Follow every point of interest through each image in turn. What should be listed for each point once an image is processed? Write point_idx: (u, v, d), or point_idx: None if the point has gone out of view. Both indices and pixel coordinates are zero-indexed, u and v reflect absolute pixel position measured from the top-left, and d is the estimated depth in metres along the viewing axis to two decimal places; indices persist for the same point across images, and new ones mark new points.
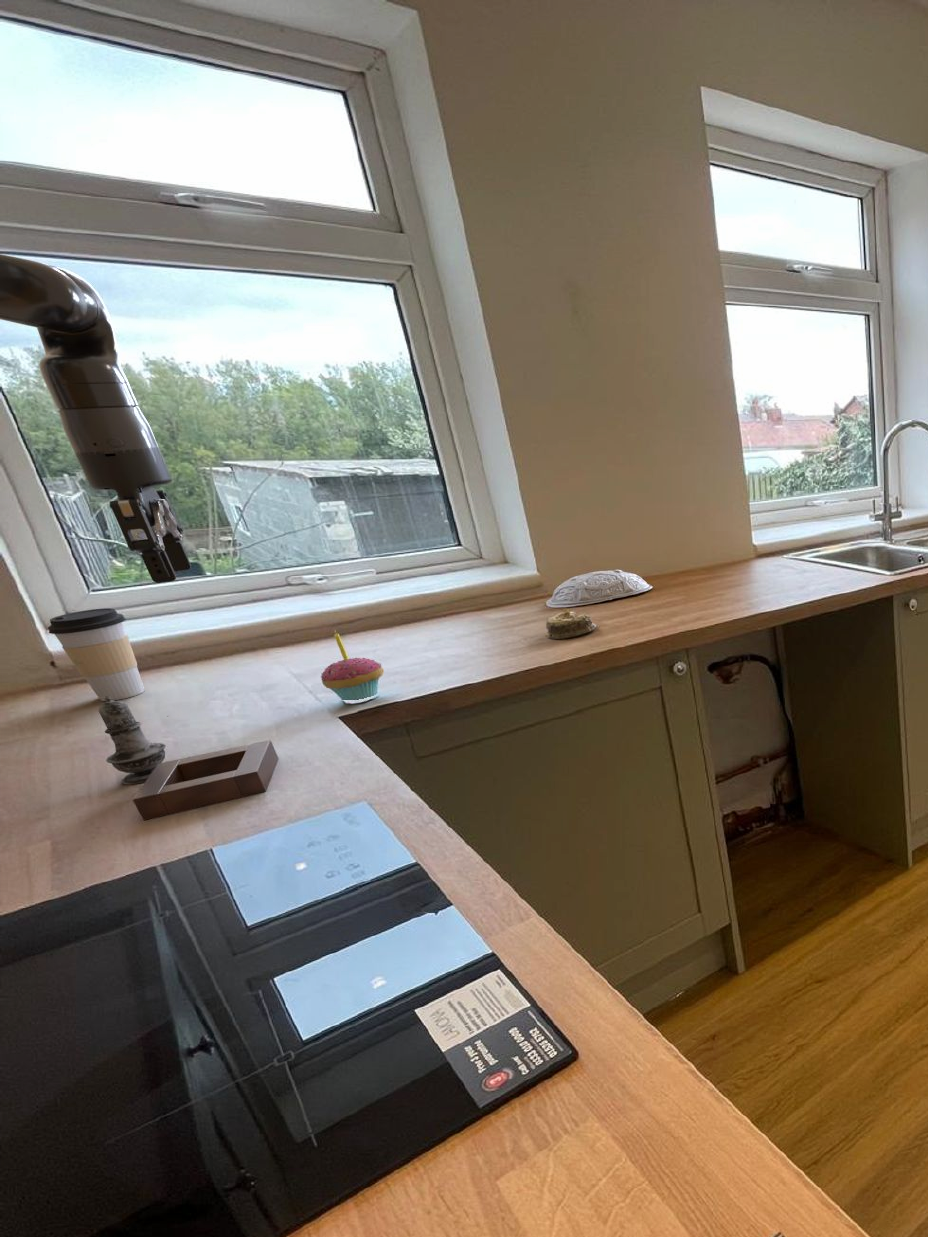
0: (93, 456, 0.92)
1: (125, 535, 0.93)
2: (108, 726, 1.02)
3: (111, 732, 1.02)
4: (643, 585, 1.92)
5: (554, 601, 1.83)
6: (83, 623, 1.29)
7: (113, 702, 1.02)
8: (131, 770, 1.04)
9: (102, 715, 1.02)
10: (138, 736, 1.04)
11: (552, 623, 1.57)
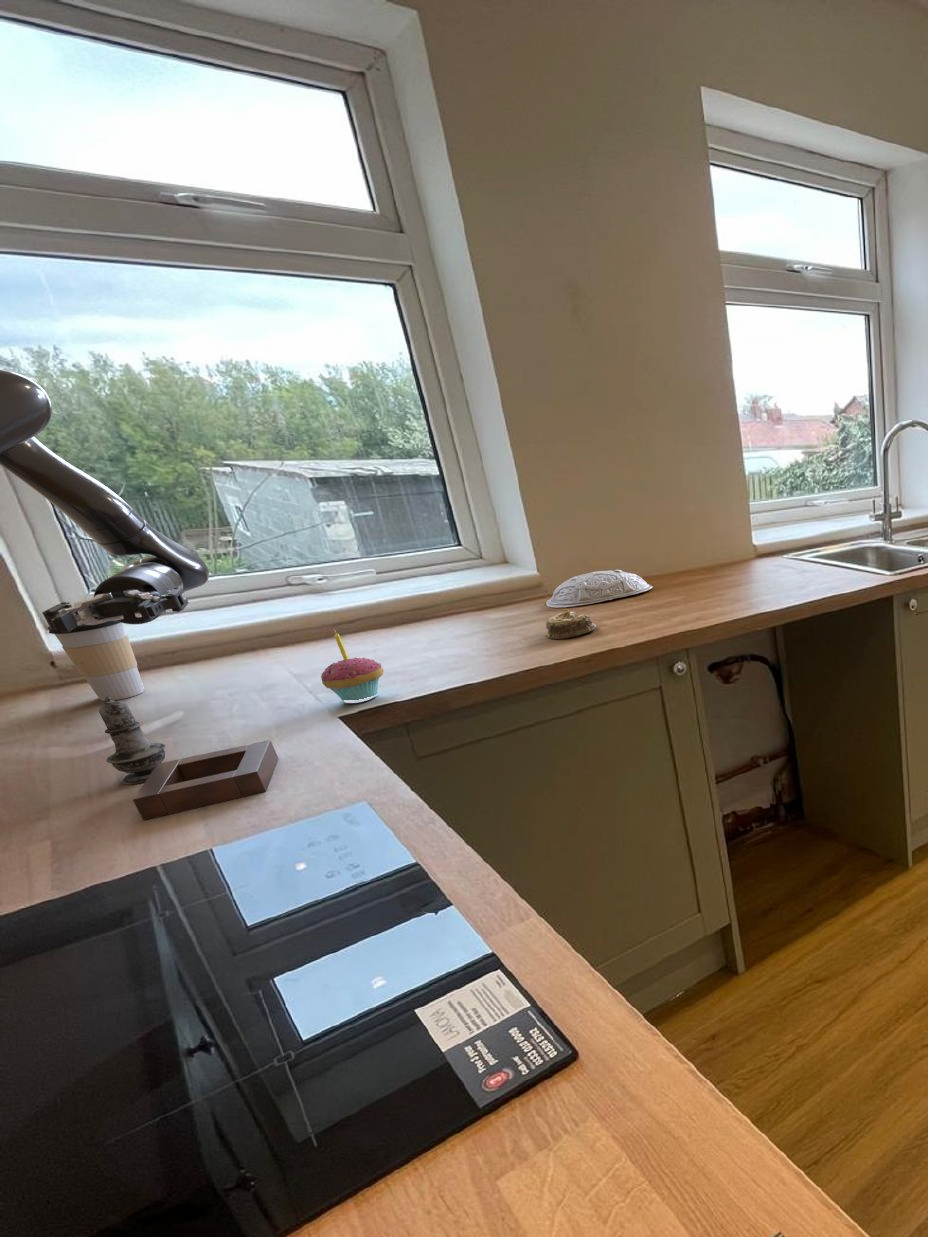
0: (160, 581, 1.20)
1: (178, 593, 1.15)
2: (108, 726, 1.02)
3: (111, 732, 1.02)
4: (643, 585, 1.92)
5: (554, 601, 1.83)
6: None
7: (113, 702, 1.02)
8: (131, 770, 1.04)
9: (102, 715, 1.02)
10: (138, 736, 1.04)
11: (552, 623, 1.57)
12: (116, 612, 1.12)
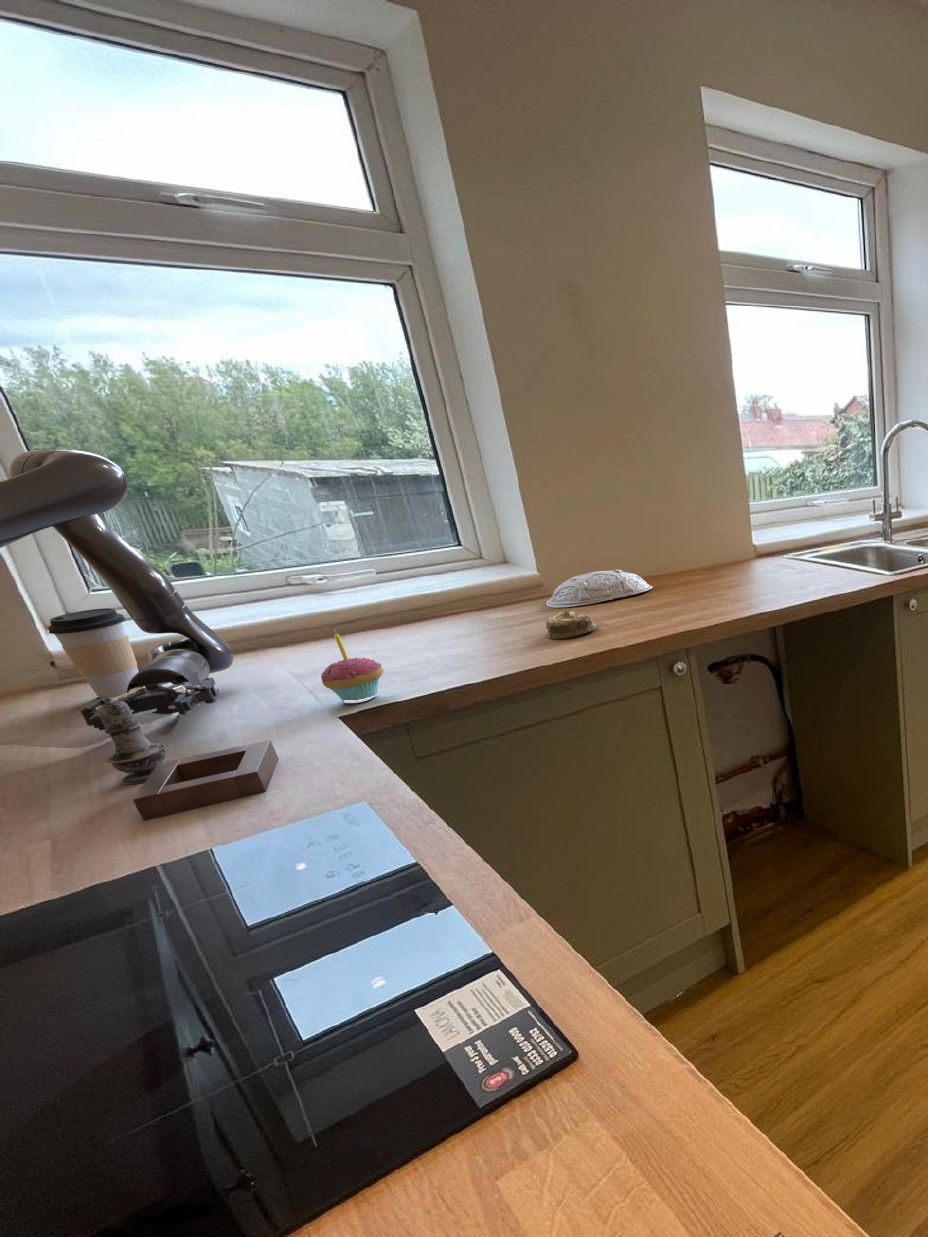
0: (191, 671, 1.23)
1: (210, 685, 1.18)
2: (108, 726, 1.02)
3: (111, 732, 1.02)
4: (643, 585, 1.92)
5: (554, 601, 1.83)
6: (83, 623, 1.29)
7: (113, 702, 1.02)
8: (131, 770, 1.04)
9: (102, 715, 1.02)
10: (138, 736, 1.04)
11: (552, 623, 1.57)
12: (150, 706, 1.15)
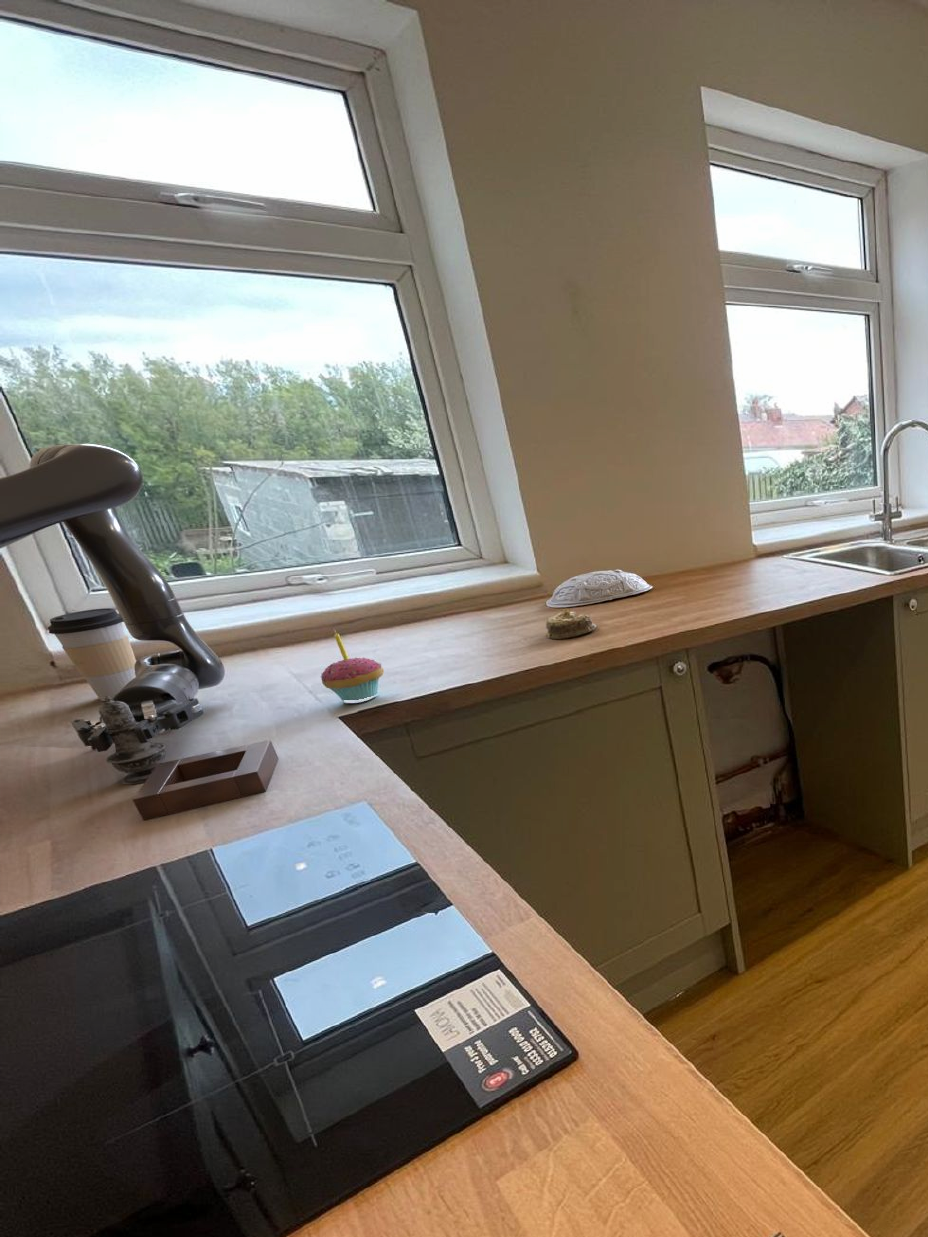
0: (178, 687, 1.16)
1: (180, 709, 1.09)
2: (108, 726, 1.02)
3: (111, 732, 1.02)
4: (643, 585, 1.92)
5: (554, 601, 1.83)
6: (83, 623, 1.29)
7: (113, 702, 1.02)
8: (131, 770, 1.04)
9: (102, 715, 1.02)
10: None
11: (552, 623, 1.57)
12: None
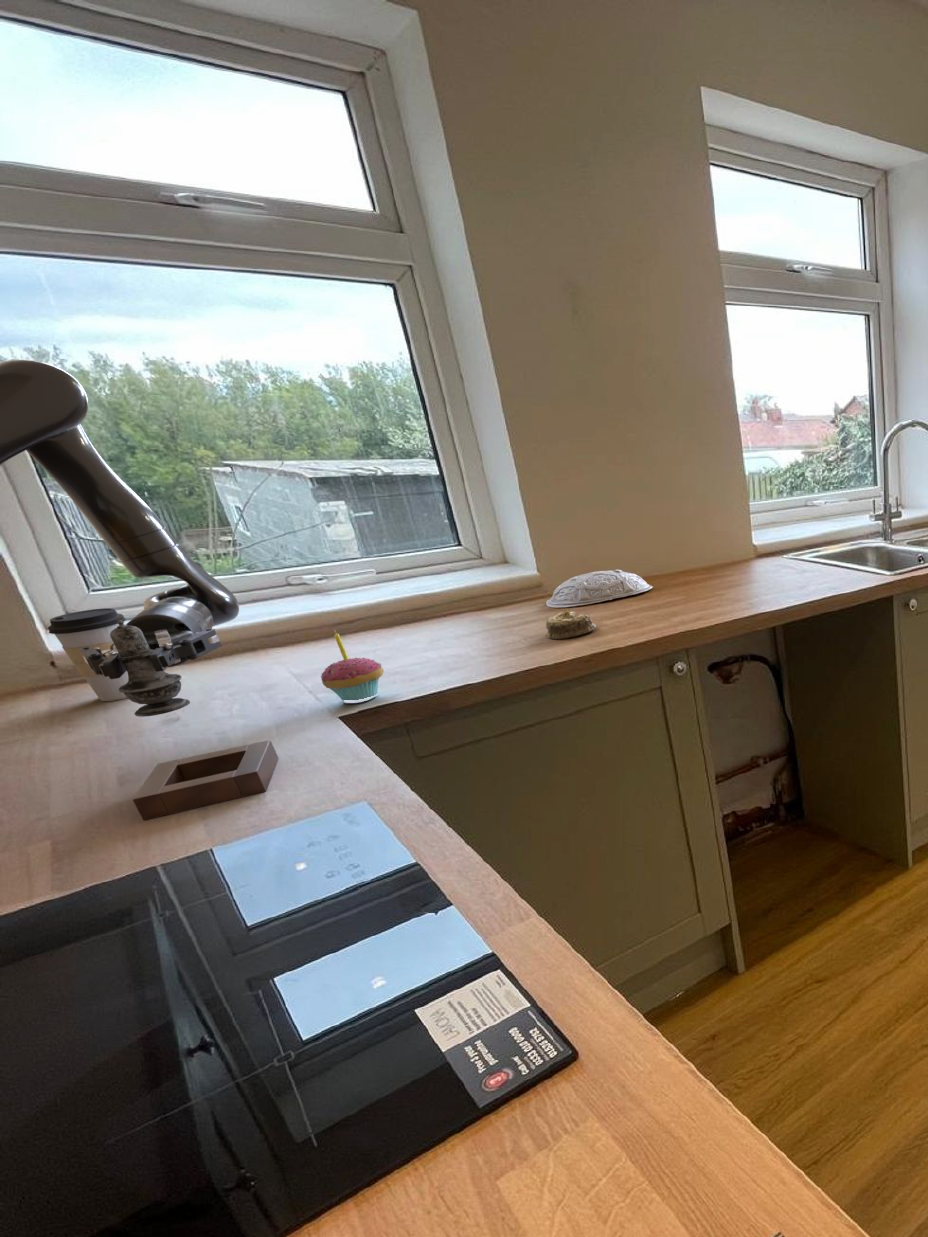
0: (193, 619, 1.08)
1: (197, 638, 1.01)
2: (120, 652, 0.95)
3: (124, 658, 0.95)
4: (643, 585, 1.92)
5: (554, 601, 1.83)
6: (83, 623, 1.29)
7: (126, 626, 0.95)
8: (145, 701, 0.97)
9: (114, 640, 0.94)
10: None
11: (552, 623, 1.57)
12: None
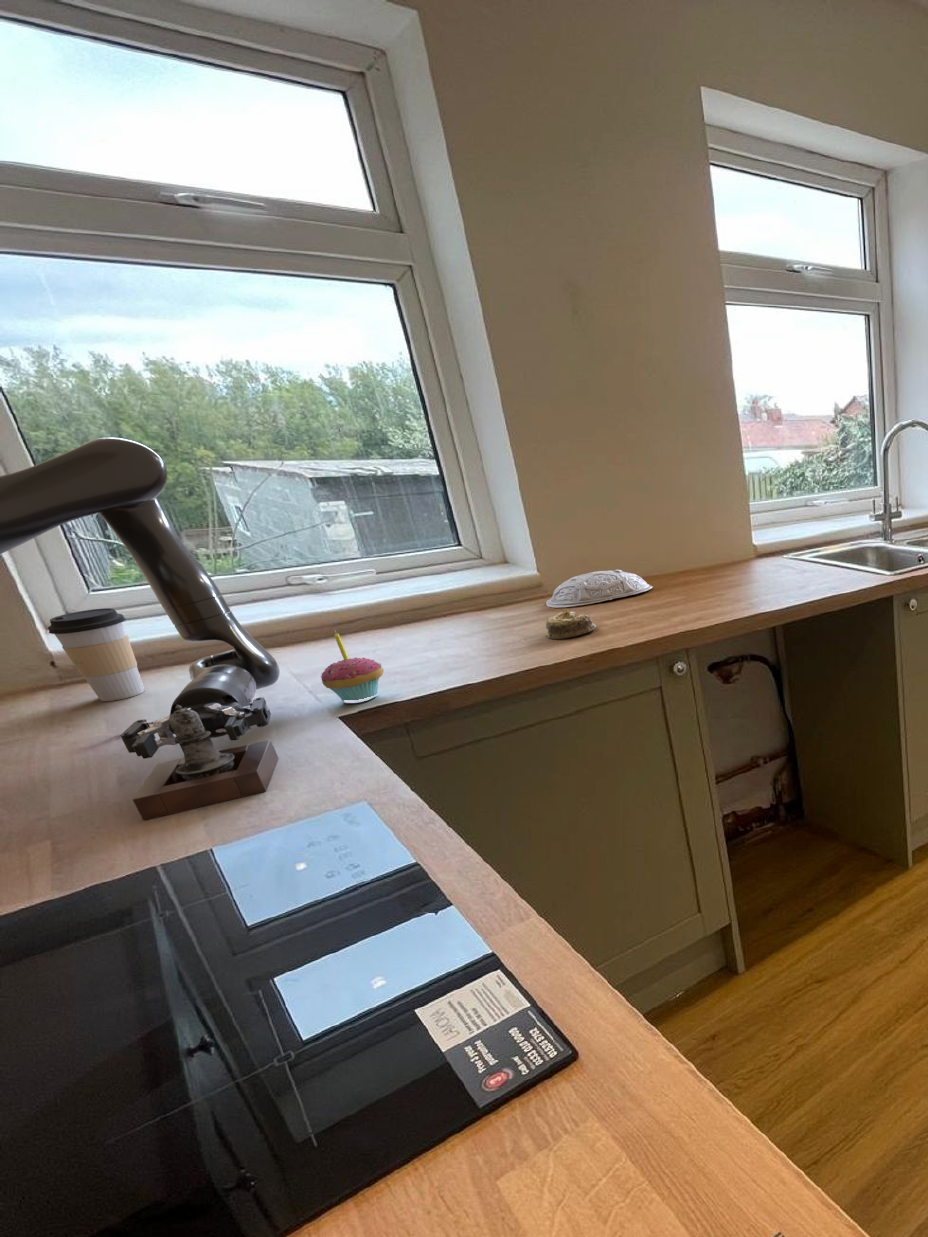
0: (239, 689, 1.11)
1: (262, 706, 1.06)
2: (178, 736, 0.98)
3: (181, 742, 0.98)
4: (643, 585, 1.92)
5: (554, 601, 1.83)
6: (83, 623, 1.29)
7: (183, 710, 0.98)
8: None
9: (172, 724, 0.97)
10: (208, 746, 1.00)
11: (552, 623, 1.57)
12: None
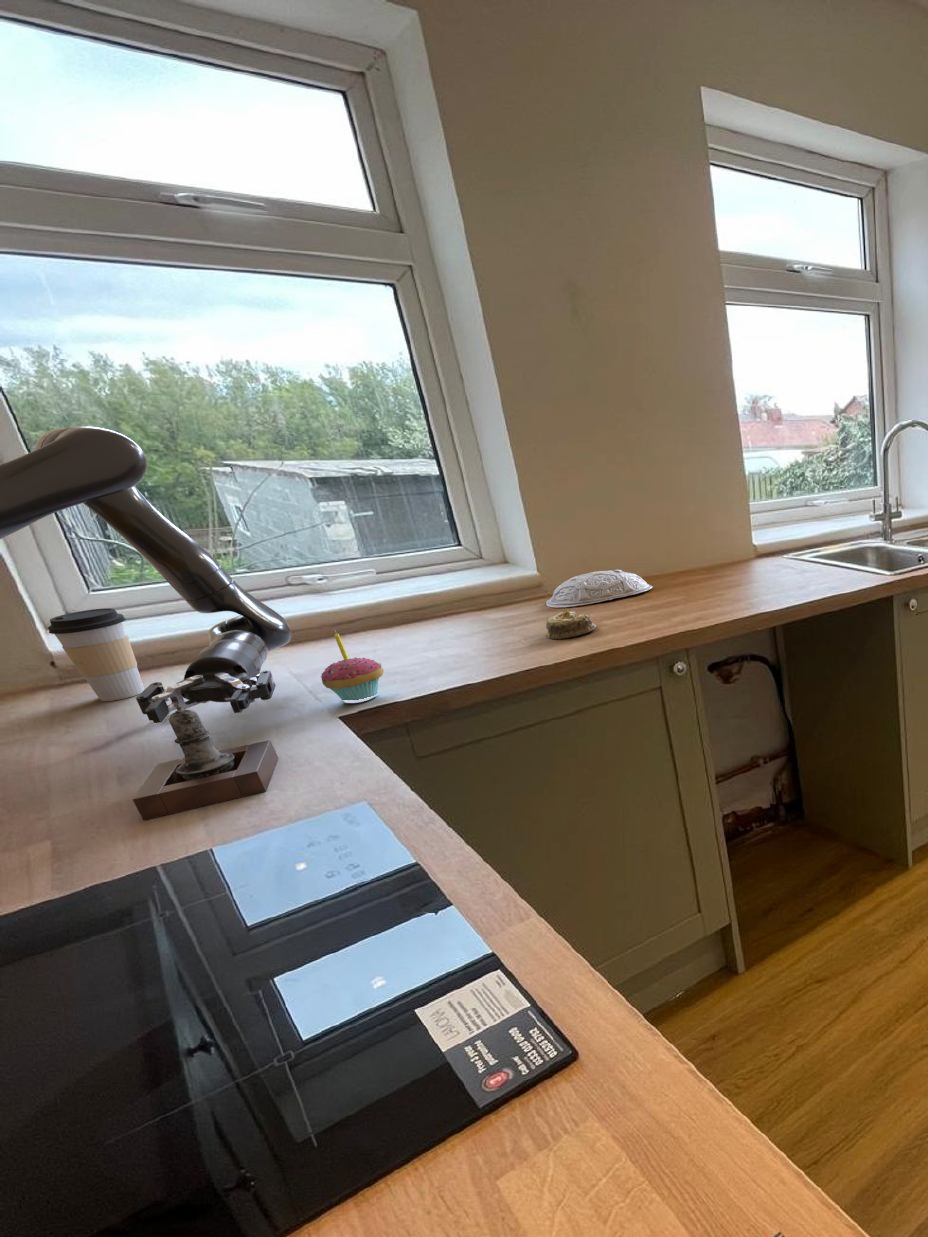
0: (249, 659, 1.20)
1: (267, 680, 1.15)
2: (178, 736, 0.98)
3: (181, 742, 0.98)
4: (643, 585, 1.92)
5: (554, 601, 1.83)
6: (83, 623, 1.29)
7: (184, 710, 0.98)
8: None
9: (172, 724, 0.97)
10: (208, 746, 1.00)
11: (552, 623, 1.57)
12: (206, 698, 1.12)
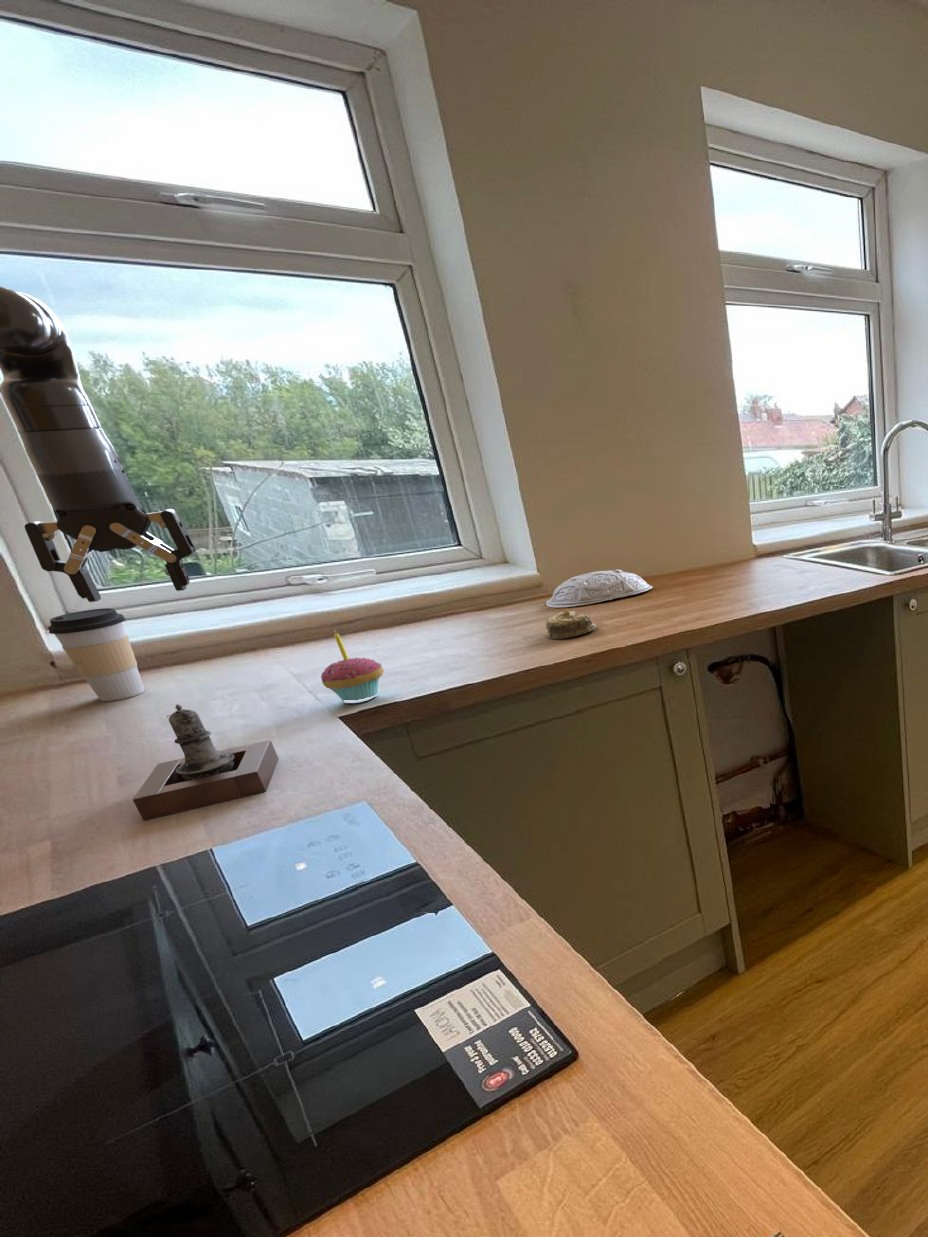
0: (115, 472, 0.96)
1: (186, 540, 1.02)
2: (178, 736, 0.98)
3: (181, 742, 0.98)
4: (643, 585, 1.92)
5: (554, 601, 1.83)
6: (83, 623, 1.29)
7: (184, 710, 0.98)
8: None
9: (172, 724, 0.97)
10: (208, 746, 1.00)
11: (552, 623, 1.57)
12: None
